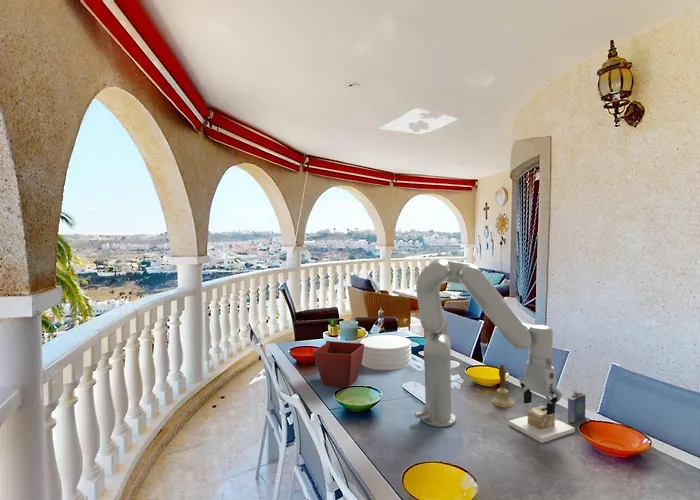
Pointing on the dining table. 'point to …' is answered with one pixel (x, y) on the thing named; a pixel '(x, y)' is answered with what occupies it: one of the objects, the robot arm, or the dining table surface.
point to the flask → (576, 407)
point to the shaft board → (542, 434)
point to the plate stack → (386, 352)
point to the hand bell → (502, 391)
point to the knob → (540, 417)
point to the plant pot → (339, 362)
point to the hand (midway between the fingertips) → (538, 408)
